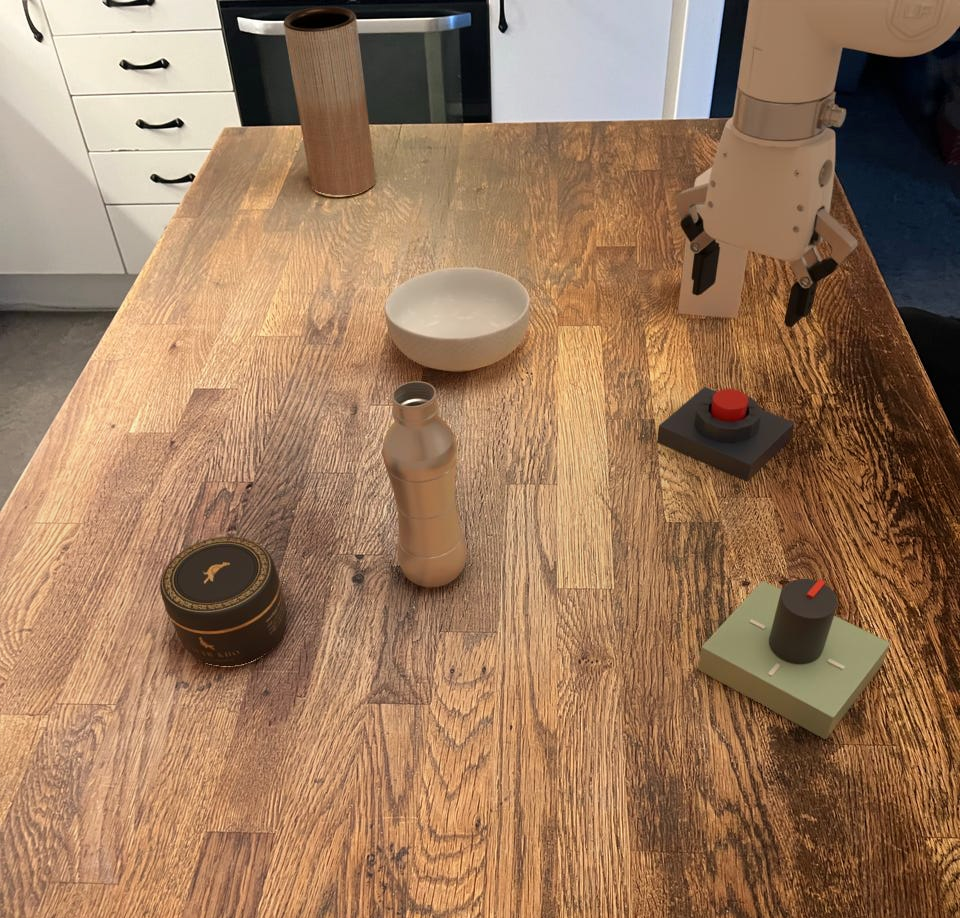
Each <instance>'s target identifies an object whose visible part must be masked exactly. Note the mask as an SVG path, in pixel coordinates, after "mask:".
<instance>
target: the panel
mask: <svg viewBox="0 0 960 918" xmlns="http://www.w3.org/2000/svg"><path fill="white" fill-rule="evenodd" d="M781 590H782V588H781V589H780V588H778V587H777V586H774V585H772V584H770V583H769V582H766V581H764V580H761V581H760V583H758V585H757V586H756V587H755V588H754V589H752V591H751V592H750V594H748V595H747V596H746V598H745V599H744V600H743V601H742V602H741V603H740V604H739V605H738V606H737V607H736V609H734V611H733V612H732V613H731V614H730V615H728V618H727V619H726V620H725V621H723V623H721V625H720V626H719V627H718V628H717V629H716V630H715V632H713V633H712V635H710V637H709V638H708V639H707V640H706V641H705V642H704V643H703V645H702V646H701V647H700V654H699V658H698V664H697V671H699V672H701V673H702V674H705V675H706V676H709V678H712V679H713V680H715V681H718V682H719V683H720V684H723V685H725V686H726V685H727V686H726V687H728V688H730V689H732V690H733V691H735V692H737V691H738V692H737V693H739V692H740V693H739V694H741V695H743V696H745V695H746V696H747V697H746V696H745V697H746V698H748V697H749V698H748V699H750V698H751V699H750V700H752V699H753V700H752V701H754V702H756V701H757V702H758V703H757V702H756V703H757V704H759V703H761V704H762V705H761V704H760V705H761V706H762V707H765V706H766V707H767V709H768V708H769V709H768V710H771V711H772V712H773V713H776V714H777V715H779V716H781V717H783V718H785V719H787V720H788V721H790V722H791V723H793V724H795V725H798V727H801V728H803V729H804V730H806V731H808V732H810V733H812V734H814V735H816V736H817V737H819V736H820V737H819V738H821V739H823V740H825V739H826V740H827V739H828V738H829V736H830V735H831V734H832V732H833V731H834V730H835V728H836V727H837V726H838V725H839V723H840V722H841V721H842V719H843V718H844V716H845V715H846V714H847V713H848V711H849V710H850V709H851V707H852V706H854V705H853V704H854V703H855V702H856V701H857V700H858V698H859V697H860V696H861V694H862V693H863V692H864V690H865V689H866V687H867V686H868V685H869V683H870V682H871V681H872V680H873V678H875V676H876V675H877V673H878V672H879V670H880V669H881V668H882V667H883V664H884V661H885V659H886V656H887V654H888V652H889V648H890V647H891V642H890V641H887V640H886V639H883V638H882V637H880V636H877V635H875V634H874V633H871V632H869V631H867V630H865V629H863V628H861V627H859V626H857V625H855V624H853V623H851V622H848V621H847V620H845V619H842V618H840V617H838V616H836V615H834V618H833V621H832V624H831V627H830V630H829V634H828V637H827V640H826V643H825V646H824V649H823V652H822V654H821V656H820V657H819V658H818V659H816V660H815V661H813V662H810V663H806V664H795V663H790V662H787V661H785V660H783V659H781V658H779V657H778V656H777V655H776V654H775V653H774V652H773V651H772V650H771V648H770V645H769V637H770V633H771V629H772V625H773V621H774V617H775V613H776V609H777V605H778V601H779V597H780V593H781ZM766 707H765V708H766Z"/></svg>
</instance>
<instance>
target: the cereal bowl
mask: <svg viewBox="0 0 960 918" xmlns="http://www.w3.org/2000/svg"><path fill="white" fill-rule="evenodd" d="M530 317H531V300H530V295H529V292H528V290H527V289H526V287H525V286H524V285H523V284H522V283H521V282H520V281H518V279H516V278H514V277H513V276H510V275H508V274H506V273H503V272H500V271H497V270H492V269H488V268H481V267H471V266H470V267H468V266H467V267H466V266H465V267H463V266H462V267H461V266H460V267H458V266H457V267H447V268H441V269H435V270H432V271H427V272H424V273H421V274H418V275H415V276H414V277H410V278H409V279H407V280H405V281H403V282H402V283H400V284H398V285H397V286H396V287H395V288H394V289H393V290H392V291H391V292H390V293H389V294H388V296H387V297H386V299H385V302H384V318H385V322H386V327H387V331H388V334H389V335H390V338H391V339H392V342H393V344H395V346H396V348H398V350H399V351H400V353H402V354H403V355H404V356H406V357H407V358H408V359H410V360H411V361H413V362H414V363H416V364H418V365H421V366H424V367H426V368H431V369H434V370H438V371H439V370H440V371H446V372H452V373H454V372H455V373H462V372H463V373H464V372H470V371H474V370H477V369H480V368H484V367H487V366H491V365H493V364H496V363H497V362H500V361H501V360H502V359H504V358H506V357H507V356H509V355H511V353H512V352H513V351H515V350H516V348H517V347H518V346H520V343H521V342H522V341H523V339H524V337H525V335H526V334H527V330H528V328H529V323H530Z"/></svg>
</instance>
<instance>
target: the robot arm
mask: <svg viewBox="0 0 960 918" xmlns="http://www.w3.org/2000/svg"><path fill="white" fill-rule="evenodd" d="M959 28H960V0H748V6H747V14H746V21H745V28H744V36H743V42H742V50H741V56H740V57H741V58H740V64H739V73H738V79H737V87H736V93H735V100H734V107H733V114H732V117H730V118H729V119H728V120H727V121H726V122H725V125H724V128H723V131H722V133H721V136H720V139H719V142H718V146H717V149H716V152H715V155H714V159H713V162H712V166H711V167H712V170H711V175H710V179H709V183H706V184H703V185H700V186H696V187H694V186H693V187H690V188H686V189H683V190H682V191H680V192H679V193H677V194H676V195H675V196H674V203H675V207H676V210H677V213H678V217H679V218H680V227H681V230H682V231H683V232H684V234H685V237H686V236H687V237H688V239H689V241H690V242H691V243H690V250H691V251H692V252H693V253H694V261H693V269H692V280H694V282H693V290H692V294H694V295H697V296H698V295H701V294H702V293H703V292H705V291H706V290H707V289H708V288H710V287H711V286H712V285H713V284H714V283H715V280H716V273H717V266H718V259H719V252H720V247H719V243H716V241H715V240H718V241H721V242H723V243H727V244H730V245H733V246H736V247H739V248H742V249H746V250H748V252H752V253H756V254H759V255H763V256H765V257H768V258H772V259H776V260H779V261H783V262H788V264H789V267H790V268H791V270H792V272H793V274H794V276H795V278H796V280H797V281H796V282H795V283H793V284H792V286H791V288H790V291H789V296H788V301H787V307H786V311H785V316H784V321H783V322H784V323H783V324H784V325H785V326H786V327H788V328H793V327H795V325H796V324H797V323H798V322H799V321H800V320H801V319H803V318H806V317H807V316H808V315H809V314H810V313H811V311H812V309H813V306H814V301H815V297H816V292H817V287H818V283H819V281H821V280H823V279H825V278H827V277H828V276H830V275H832V274H834V272H835V271H837V270H838V269H839V268H840V267H841V266H842V265H843V263H844V262H845V261H846V260H847V259H848V258H849V257H850V256H851V255H852V254H853V252H854V251H855V250H856V249H857V248H858V246H859V242H858V239H857V238H856V237H855V236H854V235H853V234H852V233H850V231H848V230H847V229H846V228H845V226H843V225H842V224H841V223H840V222H839V221H837V219H836V218H835V217H833V216H832V215H831V214H830V211H831V205H832V198H833V190H834V182H835V181H834V180H835V170H836V169H835V167H836V132H835V130H834V129H832V128H831V127H834V128H841V127H842V126H843V124H844V123H845V119H846V115H847V109H846V108H844V107H839V105H838V104H835V99H836V94H837V92H836V91H835V87H836V83H837V82H836V81H837V77H838V72H839V67H840V62H841V57H842V52H843V48H844V49H848V50H849V49H850V50H856V51H860V52H865V53H868V54H869V53H870V54H875V55H879V56H887V57H892V58H893V57H894V58H906V57H908V58H909V57H915V56H920V55H923V54H927V53H928V52H932V51H934V50H935V49H936V48H938V47H940V46H942V45H943V44H944V43H945V42H947V41H948V40H949V39H950V38H951V37H952V36H953V35H954V34H955V33H956V31H957V30H958V29H959ZM704 201H705V207H704V216H703V219H702V217H701V216H700V214H699V213H698V212H697V211H696V210H697V207H696V204H697V203H701V202H704ZM823 240H824V241H825V242H826V243H827V244H828V245H829V246H830V248H831V252H830V254H829V256H827V257H826V258H824V259H823V258H822V257H821V254H820V251H819V250H818V248H817V246H816V245H820V244H821V243H822V242H823Z"/></svg>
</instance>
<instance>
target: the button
mask: <svg viewBox="0 0 960 918" xmlns="http://www.w3.org/2000/svg"><path fill="white" fill-rule="evenodd" d="M747 396H748V395H747V394H746V393H744V392H743V391H741V390H738V389H735V388H724V389H721V390H717V391H716V393H715V394H714V396H713V400H712V407H711V414H712V416H713V417H714V418H717V419H719V420H721V421H727V422H735V421H739V420H742V419H744V418H745V416H746V412H747V406H748V397H749V396H748V397H747Z"/></svg>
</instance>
